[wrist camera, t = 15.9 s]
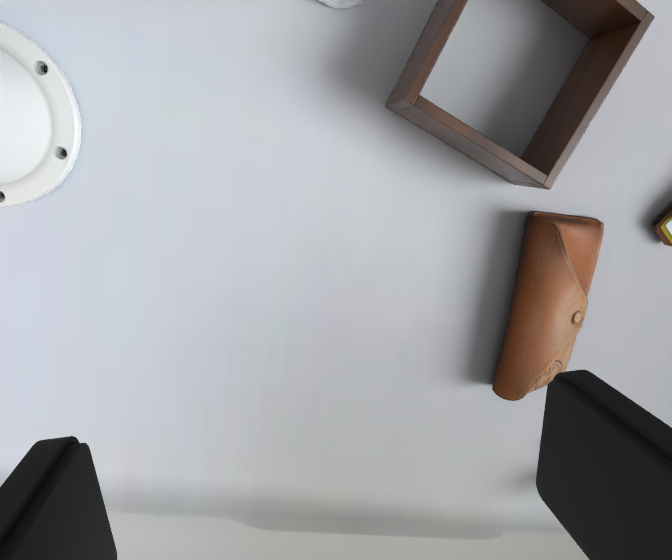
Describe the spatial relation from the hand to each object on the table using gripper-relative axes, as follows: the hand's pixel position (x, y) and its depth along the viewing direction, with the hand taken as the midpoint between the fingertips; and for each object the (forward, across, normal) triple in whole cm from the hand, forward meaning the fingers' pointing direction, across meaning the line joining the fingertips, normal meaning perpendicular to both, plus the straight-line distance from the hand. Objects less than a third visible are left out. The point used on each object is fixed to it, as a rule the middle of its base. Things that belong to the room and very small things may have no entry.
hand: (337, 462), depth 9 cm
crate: (+28, -18, -12) cm, 36 cm away
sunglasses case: (+28, -24, +10) cm, 39 cm away
